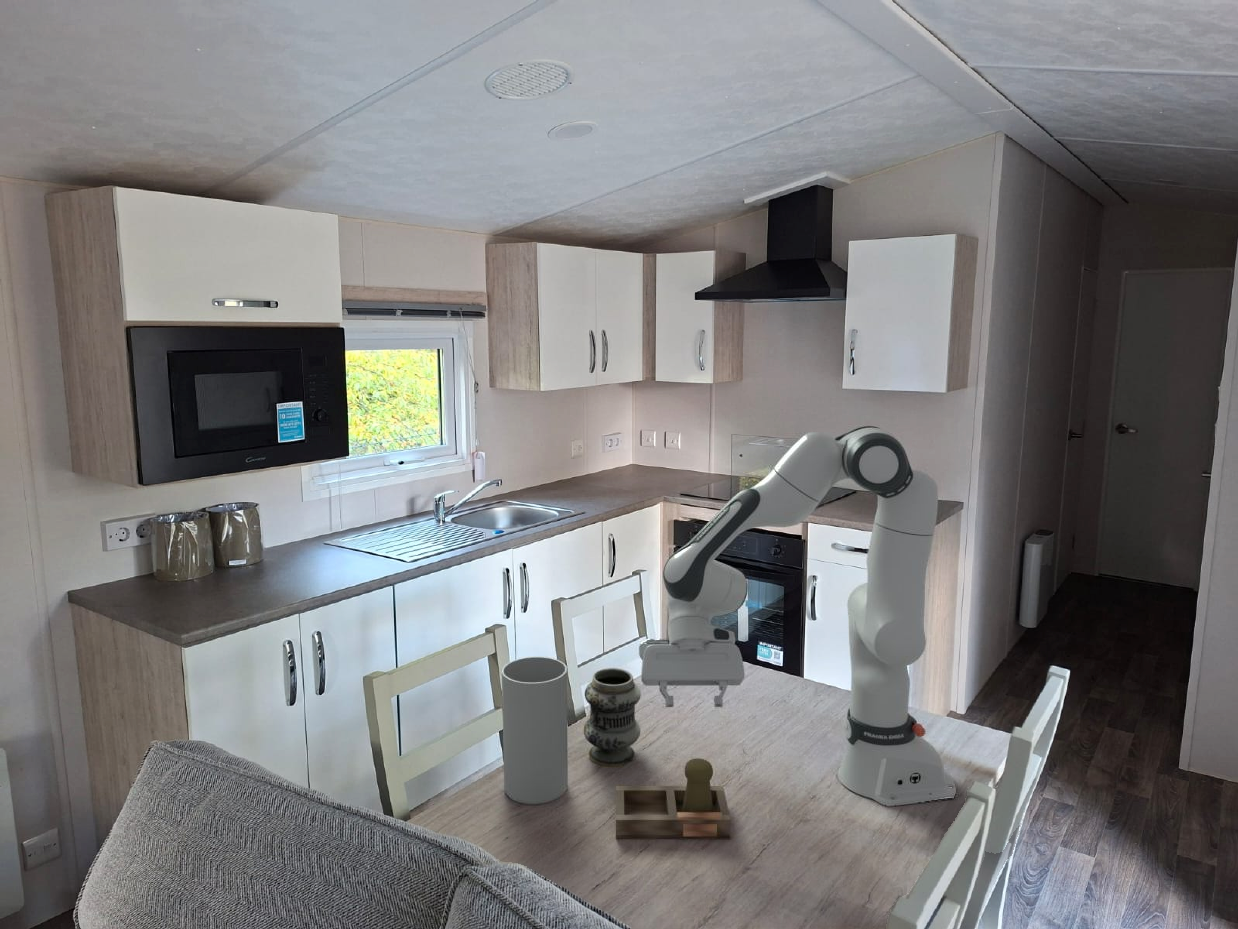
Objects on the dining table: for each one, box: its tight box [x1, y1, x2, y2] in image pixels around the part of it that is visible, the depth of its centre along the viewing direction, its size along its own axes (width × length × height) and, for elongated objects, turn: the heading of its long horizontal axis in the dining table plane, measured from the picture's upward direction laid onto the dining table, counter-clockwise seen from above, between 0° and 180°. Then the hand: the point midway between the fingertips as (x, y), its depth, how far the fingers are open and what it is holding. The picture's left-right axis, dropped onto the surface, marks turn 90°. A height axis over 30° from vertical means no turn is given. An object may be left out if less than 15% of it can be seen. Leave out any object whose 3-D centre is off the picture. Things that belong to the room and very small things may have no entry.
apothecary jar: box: [583, 667, 642, 768], centre depth 180 cm, size 12×12×18 cm
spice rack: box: [615, 785, 732, 840], centre depth 157 cm, size 20×11×4 cm, turn 90°
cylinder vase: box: [501, 656, 569, 805], centre depth 166 cm, size 12×12×25 cm
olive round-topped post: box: [682, 757, 714, 812], centre depth 157 cm, size 6×6×11 cm
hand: (694, 706), depth 164 cm, fingers open, 8 cm apart
